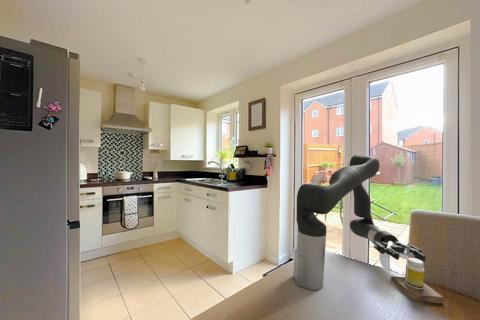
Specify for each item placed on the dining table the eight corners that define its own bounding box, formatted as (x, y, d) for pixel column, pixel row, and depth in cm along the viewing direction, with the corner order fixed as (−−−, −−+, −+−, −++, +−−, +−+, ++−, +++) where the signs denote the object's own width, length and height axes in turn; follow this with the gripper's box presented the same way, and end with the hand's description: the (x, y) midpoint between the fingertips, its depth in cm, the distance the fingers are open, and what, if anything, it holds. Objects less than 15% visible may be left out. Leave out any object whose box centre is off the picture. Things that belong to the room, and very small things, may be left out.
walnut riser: (412, 300, 65) (412, 294, 65) (390, 281, 75) (391, 276, 75) (442, 303, 65) (443, 297, 65) (417, 283, 75) (417, 278, 75)
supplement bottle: (426, 291, 67) (428, 265, 67) (409, 288, 68) (411, 262, 68) (417, 282, 72) (419, 258, 72) (401, 280, 73) (403, 256, 73)
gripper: (365, 229, 89) (390, 245, 73) (400, 231, 88) (434, 248, 72) (364, 246, 89) (388, 267, 73) (399, 249, 88) (432, 270, 72)
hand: (411, 258), depth 72 cm, fingers open, 8 cm apart
